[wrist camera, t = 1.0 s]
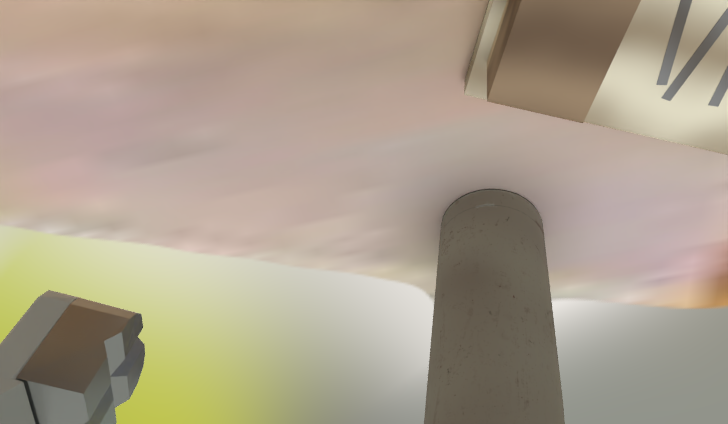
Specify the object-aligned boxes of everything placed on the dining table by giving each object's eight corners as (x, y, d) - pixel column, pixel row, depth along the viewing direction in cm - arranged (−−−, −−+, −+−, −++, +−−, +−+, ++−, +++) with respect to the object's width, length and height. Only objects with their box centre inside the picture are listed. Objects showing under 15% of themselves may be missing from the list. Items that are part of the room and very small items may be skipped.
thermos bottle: (543, 263, 50) (587, 672, 29) (446, 266, 52) (419, 652, 30) (542, 185, 45) (594, 607, 24) (435, 191, 47) (394, 587, 26)
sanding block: (537, -93, 32) (544, -67, 28) (639, -70, 32) (660, -41, 28) (486, 62, 38) (487, 101, 34) (573, 82, 38) (583, 123, 34)
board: (537, -156, 32) (539, -149, 30) (892, -77, 32) (913, -66, 30) (464, 80, 41) (464, 95, 39) (740, 143, 41) (751, 160, 39)
